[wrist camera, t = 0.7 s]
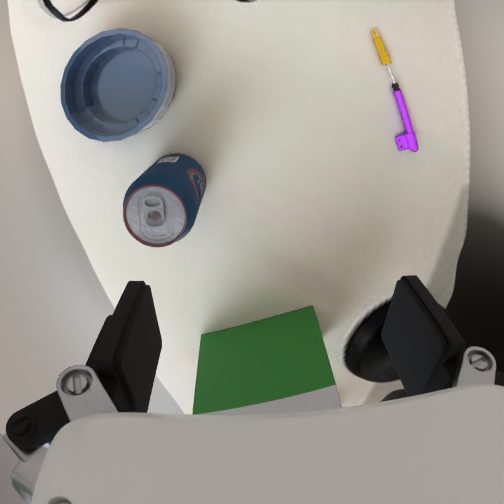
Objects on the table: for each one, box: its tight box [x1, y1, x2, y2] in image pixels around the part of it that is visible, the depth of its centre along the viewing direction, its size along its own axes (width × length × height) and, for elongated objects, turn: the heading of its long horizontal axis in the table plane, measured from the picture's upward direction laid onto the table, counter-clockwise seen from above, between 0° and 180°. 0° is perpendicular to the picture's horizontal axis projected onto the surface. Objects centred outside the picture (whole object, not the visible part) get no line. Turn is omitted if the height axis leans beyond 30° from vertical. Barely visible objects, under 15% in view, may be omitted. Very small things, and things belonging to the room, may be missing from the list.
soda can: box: [123, 154, 206, 247], centre depth 32 cm, size 7×7×12 cm
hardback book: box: [193, 306, 342, 415], centre depth 39 cm, size 18×7×24 cm, turn 108°
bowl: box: [61, 29, 176, 142], centre depth 29 cm, size 12×12×5 cm
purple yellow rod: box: [371, 30, 418, 152], centre depth 32 cm, size 3×1×16 cm
